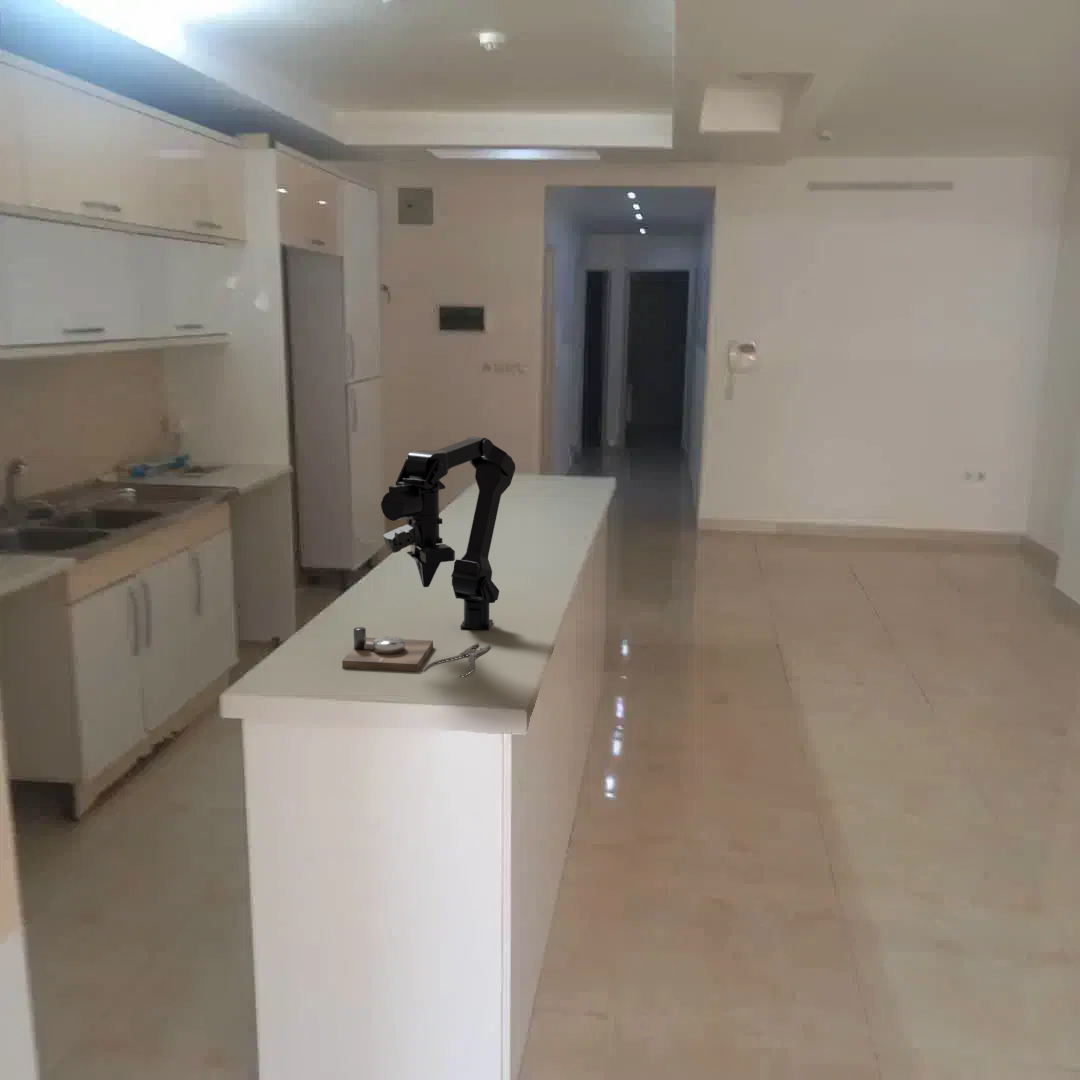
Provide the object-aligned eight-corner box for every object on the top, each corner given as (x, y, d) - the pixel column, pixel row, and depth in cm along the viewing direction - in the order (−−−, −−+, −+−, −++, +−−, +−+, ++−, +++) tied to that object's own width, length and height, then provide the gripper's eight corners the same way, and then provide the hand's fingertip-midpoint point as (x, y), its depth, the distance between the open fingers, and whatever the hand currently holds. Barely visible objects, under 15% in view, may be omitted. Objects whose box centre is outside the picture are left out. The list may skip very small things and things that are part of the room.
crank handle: (407, 644, 209) (407, 625, 208) (401, 654, 203) (400, 635, 202) (358, 642, 210) (357, 624, 209) (350, 652, 204) (349, 633, 203)
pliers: (419, 672, 197) (447, 640, 216) (419, 676, 197) (447, 644, 216) (467, 676, 195) (491, 643, 214) (467, 680, 195) (491, 647, 215)
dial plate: (363, 644, 215) (363, 637, 214) (433, 647, 213) (432, 640, 213) (342, 667, 200) (342, 660, 200) (417, 671, 198) (416, 663, 198)
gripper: (373, 507, 212) (375, 580, 216) (401, 524, 196) (403, 602, 199) (423, 504, 217) (424, 575, 220) (455, 520, 201) (456, 596, 204)
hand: (425, 586), depth 211 cm, fingers closed
